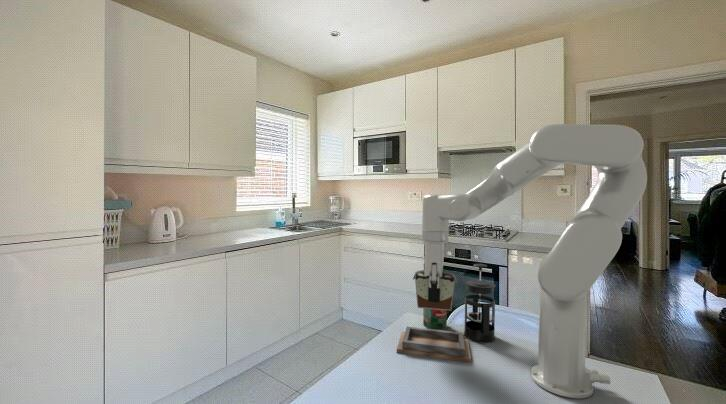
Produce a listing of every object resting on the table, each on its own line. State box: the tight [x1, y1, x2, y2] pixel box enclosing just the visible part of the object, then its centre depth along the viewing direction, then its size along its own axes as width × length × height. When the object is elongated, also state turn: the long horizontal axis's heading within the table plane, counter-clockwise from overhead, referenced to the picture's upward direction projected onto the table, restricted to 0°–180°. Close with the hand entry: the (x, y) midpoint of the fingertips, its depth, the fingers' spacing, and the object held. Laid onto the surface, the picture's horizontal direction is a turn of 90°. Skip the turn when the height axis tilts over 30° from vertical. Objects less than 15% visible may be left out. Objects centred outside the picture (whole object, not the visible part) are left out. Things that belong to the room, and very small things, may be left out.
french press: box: [463, 263, 496, 344], centre depth 99 cm, size 12×9×23 cm
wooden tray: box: [396, 326, 472, 363], centre depth 92 cm, size 20×12×3 cm, turn 76°
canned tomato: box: [422, 308, 448, 331], centre depth 108 cm, size 8×8×11 cm
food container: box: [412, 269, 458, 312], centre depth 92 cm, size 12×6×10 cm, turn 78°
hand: (434, 297), depth 92 cm, fingers closed on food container, 5 cm apart
